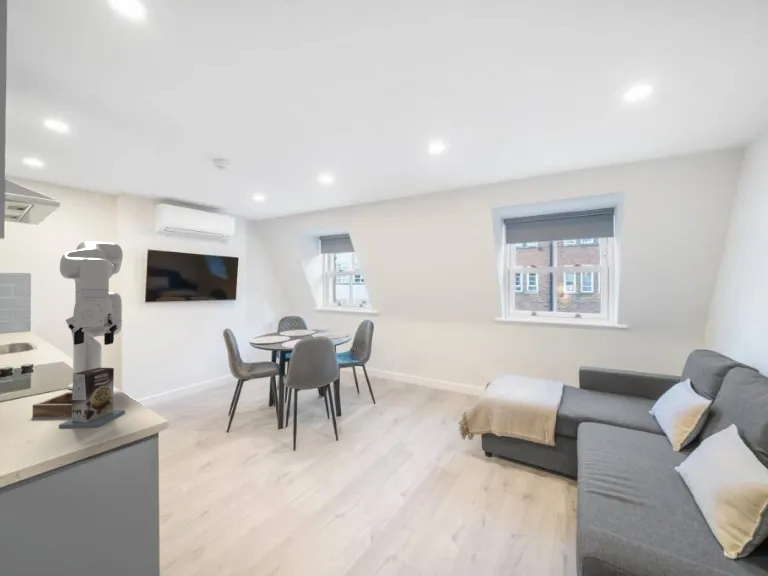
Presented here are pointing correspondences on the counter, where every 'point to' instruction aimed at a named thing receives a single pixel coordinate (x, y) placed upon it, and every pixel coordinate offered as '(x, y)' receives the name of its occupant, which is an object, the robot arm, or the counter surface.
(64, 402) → the walnut dock
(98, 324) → the robot arm
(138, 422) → the counter surface
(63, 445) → the counter surface
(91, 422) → the slate mat
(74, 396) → the dessert mix box
